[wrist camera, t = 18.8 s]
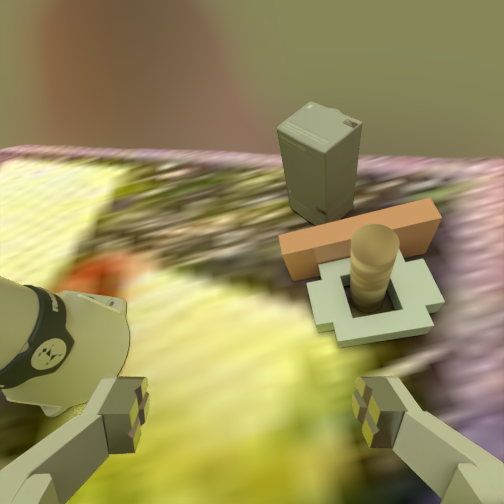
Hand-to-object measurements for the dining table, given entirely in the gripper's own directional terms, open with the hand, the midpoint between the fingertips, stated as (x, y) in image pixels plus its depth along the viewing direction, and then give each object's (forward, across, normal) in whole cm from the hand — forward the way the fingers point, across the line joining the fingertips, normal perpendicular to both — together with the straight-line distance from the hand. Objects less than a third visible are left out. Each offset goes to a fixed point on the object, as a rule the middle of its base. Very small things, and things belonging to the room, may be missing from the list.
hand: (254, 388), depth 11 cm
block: (+22, -17, +9) cm, 29 cm away
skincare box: (+36, -14, 0) cm, 39 cm away
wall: (+28, -16, +5) cm, 32 cm away
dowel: (+23, -17, +9) cm, 30 cm away
